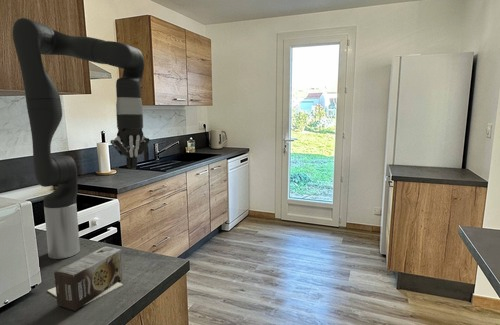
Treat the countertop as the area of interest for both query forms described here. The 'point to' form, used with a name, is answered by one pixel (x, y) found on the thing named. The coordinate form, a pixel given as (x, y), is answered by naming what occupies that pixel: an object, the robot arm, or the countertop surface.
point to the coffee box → (88, 277)
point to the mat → (111, 288)
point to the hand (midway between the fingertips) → (132, 168)
